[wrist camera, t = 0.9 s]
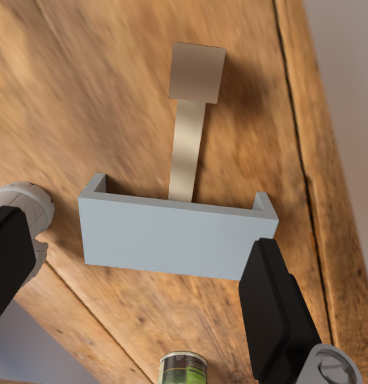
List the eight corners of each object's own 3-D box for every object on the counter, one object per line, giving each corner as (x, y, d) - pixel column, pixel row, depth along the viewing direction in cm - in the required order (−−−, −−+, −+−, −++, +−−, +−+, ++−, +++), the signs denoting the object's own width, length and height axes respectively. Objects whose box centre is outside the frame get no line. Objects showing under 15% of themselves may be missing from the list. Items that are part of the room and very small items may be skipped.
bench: (96, 172, 33) (77, 197, 28) (266, 192, 33) (279, 220, 28) (100, 233, 38) (85, 263, 33) (247, 249, 38) (256, 282, 33)
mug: (42, 174, 33) (-27, 235, 23) (77, 243, 39) (34, 316, 29) (-11, 182, 34) (-100, 244, 24) (31, 249, 40) (-27, 321, 30)
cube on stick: (178, 42, 25) (173, 42, 19) (218, 47, 25) (226, 49, 19) (163, 209, 35) (157, 244, 29) (192, 212, 35) (192, 248, 29)
